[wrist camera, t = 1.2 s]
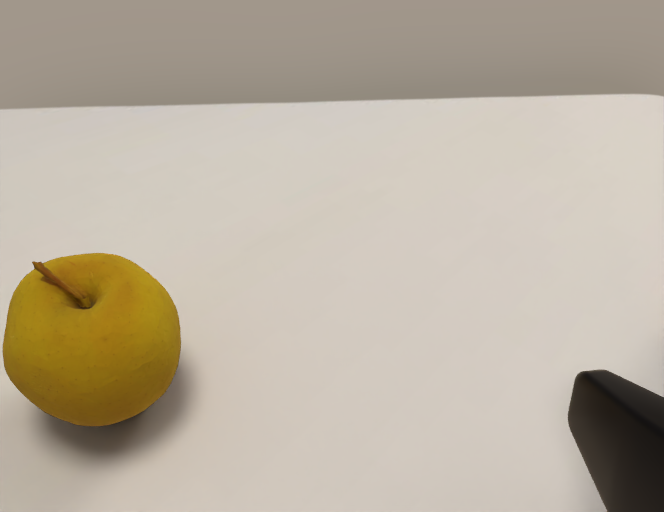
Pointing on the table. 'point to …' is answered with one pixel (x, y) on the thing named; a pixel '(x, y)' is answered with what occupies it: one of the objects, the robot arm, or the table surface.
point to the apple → (91, 338)
